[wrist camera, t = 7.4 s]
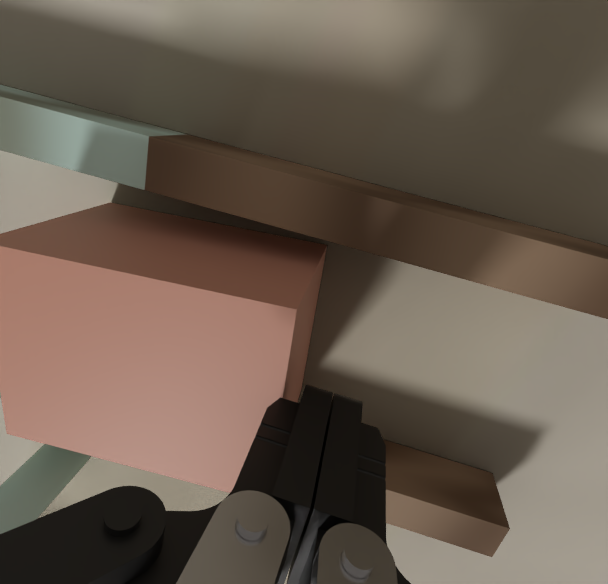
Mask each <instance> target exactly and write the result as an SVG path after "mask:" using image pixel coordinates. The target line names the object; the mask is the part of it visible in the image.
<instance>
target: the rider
mask: <svg viewBox="0 0 608 584" xmlns="http://www.w3.org/2000/svg"><path fill="white" fill-rule="evenodd" d="M326 250H327V245H324V244H319V243H314V242H309V241H304V240H299V239H294V238H289V237H284V236H278V235H273V234H268V233H263V232H258V231H253V230H248V229H243V228H238V227H233V226H228V225H222V224H217V223H212V222H207V221H202V220H197V219H192V218H187V217H182V216H177V215H172V214H166V213H161V212H156V211H151V210H146V209H141V208H136V207H131V206H126V205H121V204H116V203H107V204H104V205H100V206H97V207H93V208H90V209H86V210H83V211H79V212H76V213H72V214H69V215H65V216H62V217H58V218H55V219H51V220H48V221H44V222H41V223H37V224H34V225H30V226H27V227H23V228H20V229H16V230H13V231H9V232H6V233H2V234H0V393H1V400H2V406H3V412H4V419H5V425H6V431H7V434H10V435H14V436H17V437H21V438H25V439H29V440H33V441H36V442H40V443H44V444H48V445H51V446H55V447H59V448H63V449H67V450H70V451H74V452H78V453H82V454H85V455H89V456H93V457H97V458H100V459H104V460H108V461H112V462H116V463H119V464H123V465H127V466H131V467H134V468H138V469H142V470H146V471H150V472H153V473H157V474H161V475H165V476H168V477H172V478H176V479H180V480H184V481H187V482H191V483H195V484H199V485H202V486H206V487H210V488H214V489H217V490H221V491H225V492H229V493H231V491H232V489H233V488H234V486H235V483H236V481H237V478H238V476H239V474H240V471H241V469H242V466H243V464H244V462H245V459H246V457H247V455H248V452H249V450H250V447H251V445H252V443H253V440H254V438H255V436H256V433H257V431H258V428H259V426H260V424H261V421H262V419H263V416H264V414H265V412H266V409H267V407H269V406H270V405H271V404H272V403H274V402H275V401H276V400H278V399H279V398H280V397H281V398H284V399H287V400H290V401H293V402H296V403H297V402H298V399H299V396H300V392H301V389H302V384H303V378H304V373H305V367H306V361H307V356H308V350H309V345H310V339H311V333H312V328H313V322H314V317H315V311H316V305H317V300H318V294H319V289H320V283H321V277H322V272H323V266H324V261H325V255H326Z"/></svg>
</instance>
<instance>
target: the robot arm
mask: <svg viewBox="0 0 608 584" xmlns="http://www.w3.org/2000/svg"><path fill="white" fill-rule="evenodd" d="M332 395H333V393H332V392H329V391H325V390H322V389H319V388H316V387H313V386H309V385H306V386H305V389H304V392H303V396H302V399H301V402H300V403H296V402H293V401H290V400H287V399H284V398H281V397H280V398H279V399H278V400H276V401H275V402H274V403H272V404H271V405H270V406H269V407H267V409H266V412H265V414H264V416H263V419H262V421H261V424H260V426H259V428H258V431H257V433H256V436H255V438H254V440H253V443H252V445H251V447H250V450H249V452H248V455H247V457H246V459H245V462H244V464H243V466H242V469H241V471H240V474H239V476H238V478H237V481H236V483H235V486H234V488H233V489H232V491H231V493H230V494H229V495H228V496H227V497H226V498H225V499H224V500H223V501H222V502H220V503H219V504H217V505H215V506H213V507H211V508H208V509H205V510H199V511H166V510H165V507H164V505H163V502H162V501H161V500H160V498H159V497H158V496H157V495H156V494H154V493H153V492H151V491H150V490H147V489H145V488H141V487H137V486H122V487H117V488H113V489H110V490H107V491H105V492H102V493H100V494H97V495H95V496H93V497H90V498H88V499H85V500H83V501H80V502H78V503H75V504H73V505H70V506H68V507H66V508H63V509H61V510H58V511H56V512H53V513H51V514H48V515H46V516H44V517H41V518H39V519H36V520H34V521H31V522H29V523H26V524H24V525H21V526H19V527H17V528H14V529H12V530H9V531H7V532H4V533H2V534H0V584H284V582H285V579H286V576H287V574H288V571H289V575H288V580H287V584H411V583H410V582H409V581H408V580H406V579H405V578H404V576H403V575H402V574H401V573H400V572H399V570H398V569H397V567H396V566H395V562H394V559H393V556H392V554H391V552H390V550H389V548H388V547H387V543H386V481H385V478H386V466H385V464H386V445H385V443H384V440H383V438H382V436H381V434H380V432H379V430H378V428H376V427H373V426H369V425H366V424H363V423H361V416H362V402H361V401H358V400H355V399H351V398H348V397H345V396H342V395H339V394H334V396H333V399H332ZM331 400H332V402H331ZM290 565H291V566H290ZM289 568H290V570H289Z"/></svg>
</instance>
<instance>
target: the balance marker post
mask: <svg viewBox="0 0 608 584" xmlns="http://www.w3.org/2000/svg"><path fill="white" fill-rule="evenodd" d="M89 458H90V456H89V455H85V454H82V453H78V452H74V451H70V450H67V449H63V448H59V447H55V446H51V445H48V444H44V445H43V446H42V447H41V448H40V449H39V450H38V451H37V452H36V453H35V454H34V455H33V456H32V457H31V458H30V459H28V460H27V461H26V462H25V463H24V464H23V465H22V466H21V467H20V468H19V469H18V470H17V471H16V472H15V473H14V474H13V475H11V476H10V477H9V478H8V479H7V480H6V481H5V482H4V483H3V484H2V485H1V486H0V534H2V533H4V532H7V531H9V530H12V529H14V528H17V527H19V526H21V525H24V524H26V523H29V522H31V521H34V520H36V519H37V518H38V517H39V516H40V515H41V514H42V512H43V511H44V510H45V509H46V508H47V507H48V506H49V504H50V503H51V502H52V501H53V500H54V499H55V498H56V497H57V495H58V494H59V493H60V492H61V491H62V490H63V489H64V487H65V486H66V485H67V484H68V483H69V482H70V481H71V479H72V478H73V477H74V476H75V475H76V474H77V473H78V472H79V470H80V469H81V468H82V467H83V466H84V465H85V464H86V462H87V461H88V460H89Z"/></svg>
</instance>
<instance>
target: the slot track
mask: <svg viewBox="0 0 608 584" xmlns="http://www.w3.org/2000/svg"><path fill="white" fill-rule="evenodd" d="M0 150H2V151H6V152H9V153H13V154H16V155H20V156H24V157H27V158H31V159H34V160H38V161H42V162H45V163H49V164H52V165H56V166H60V167H63V168H67V169H70V170H74V171H78V172H81V173H85V174H88V175H92V176H96V177H99V178H103V179H106V180H110V181H114V182H117V183H121V184H124V185H128V186H131V187H135V188H139V189H142V190H146V191H149V192H153V193H157V194H160V195H164V196H167V197H171V198H175V199H178V200H182V201H185V202H189V203H193V204H196V205H200V206H203V207H207V208H211V209H214V210H218V211H221V212H225V213H229V214H232V215H236V216H239V217H243V218H246V219H250V220H254V221H257V222H261V223H264V224H268V225H272V226H275V227H279V228H282V229H286V230H290V231H293V232H297V233H300V234H304V235H308V236H311V237H315V238H318V239H322V240H326V241H329V242H333V243H336V244H340V245H344V246H347V247H351V248H354V249H358V250H361V251H365V252H369V253H372V254H376V255H379V256H383V257H387V258H390V259H394V260H397V261H401V262H405V263H408V264H412V265H415V266H419V267H423V268H426V269H430V270H433V271H437V272H441V273H444V274H448V275H451V276H455V277H459V278H462V279H466V280H469V281H473V282H476V283H480V284H484V285H487V286H491V287H494V288H498V289H502V290H505V291H509V292H512V293H516V294H520V295H523V296H527V297H530V298H534V299H538V300H541V301H545V302H548V303H552V304H556V305H559V306H563V307H566V308H570V309H574V310H577V311H581V312H584V313H588V314H591V315H595V316H599V317H602V318H606V319H608V246H605V245H601V244H597V243H594V242H590V241H586V240H582V239H579V238H575V237H571V236H567V235H564V234H560V233H556V232H552V231H549V230H545V229H541V228H537V227H534V226H530V225H526V224H522V223H519V222H515V221H511V220H507V219H504V218H500V217H496V216H492V215H489V214H485V213H481V212H477V211H473V210H470V209H466V208H462V207H458V206H455V205H451V204H447V203H443V202H440V201H436V200H432V199H428V198H425V197H421V196H417V195H413V194H410V193H406V192H402V191H398V190H395V189H391V188H387V187H383V186H380V185H376V184H372V183H368V182H365V181H361V180H357V179H353V178H349V177H346V176H342V175H338V174H334V173H331V172H327V171H323V170H319V169H316V168H312V167H308V166H304V165H301V164H297V163H293V162H289V161H286V160H282V159H278V158H274V157H271V156H267V155H263V154H259V153H256V152H252V151H248V150H244V149H241V148H237V147H233V146H229V145H225V144H222V143H218V142H214V141H210V140H207V139H203V138H199V137H195V136H192V135H188V134H184V133H180V132H177V131H173V130H169V129H165V128H162V127H158V126H154V125H150V124H147V123H143V122H139V121H135V120H132V119H128V118H124V117H120V116H117V115H113V114H109V113H105V112H101V111H98V110H94V109H90V108H86V107H83V106H79V105H75V104H71V103H68V102H64V101H60V100H56V99H53V98H49V97H45V96H41V95H38V94H34V93H30V92H26V91H23V90H19V89H15V88H11V87H8V86H4V85H0ZM0 398H1V393H0ZM383 440H384V439H383ZM384 443H385V445H386V464H385V466H386V478H385V481H386V523H388V524H391V525H395V526H398V527H401V528H404V529H407V530H410V531H413V532H416V533H419V534H422V535H425V536H428V537H432V538H435V539H438V540H441V541H444V542H447V543H450V544H453V545H456V546H459V547H462V548H465V549H469V550H472V551H475V552H478V553H481V554H484V555H487V556H490V557H492V556H493V555H494V553H495V552H496V550H497V548H498V547H499V545H500V544H501V542H502V540H503V539H504V537H505V536H506V534H507V532H508V531H509V529H510V528H509V525H508V521H507V518H506V515H505V512H504V509H503V505H502V502H501V499H500V496H499V492H498V489H497V486H496V483H495V480H494V476H493V473H490V472H487V471H484V470H480V469H477V468H474V467H471V466H467V465H464V464H461V463H458V462H455V461H451V460H448V459H445V458H442V457H438V456H435V455H432V454H429V453H426V452H422V451H419V450H416V449H413V448H409V447H406V446H403V445H400V444H396V443H393V442H390V441H387V440H384Z"/></svg>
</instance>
